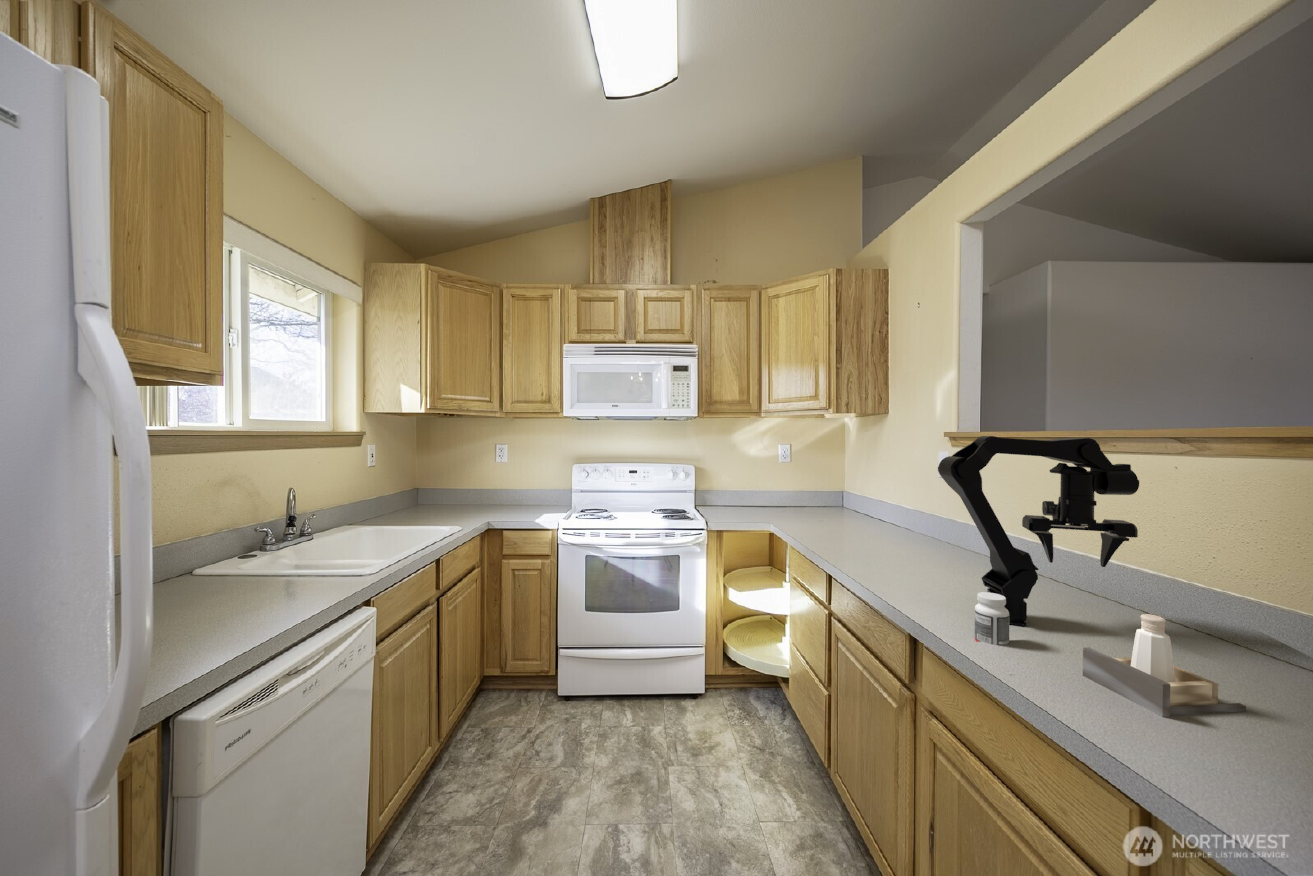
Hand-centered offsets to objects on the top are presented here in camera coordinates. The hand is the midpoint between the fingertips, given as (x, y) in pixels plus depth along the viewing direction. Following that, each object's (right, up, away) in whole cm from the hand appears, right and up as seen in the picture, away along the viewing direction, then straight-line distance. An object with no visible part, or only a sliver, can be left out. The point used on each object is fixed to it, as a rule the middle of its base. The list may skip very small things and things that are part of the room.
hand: (1076, 564), depth 108 cm
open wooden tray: (-14, -13, -29) cm, 35 cm away
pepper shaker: (-15, -11, -31) cm, 36 cm away
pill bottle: (-27, -13, -11) cm, 32 cm away
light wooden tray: (-14, -12, -31) cm, 36 cm away
